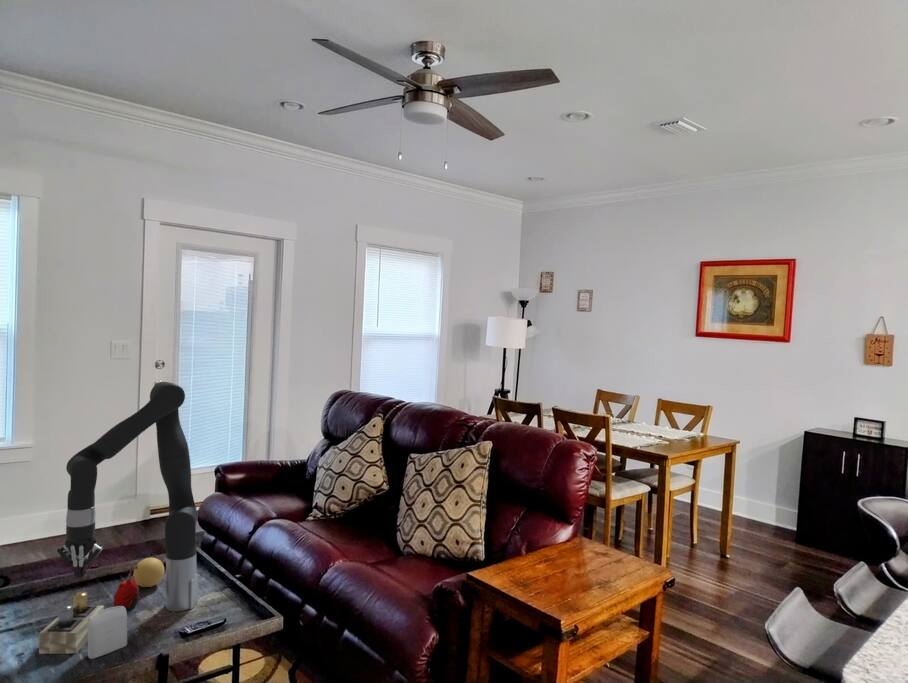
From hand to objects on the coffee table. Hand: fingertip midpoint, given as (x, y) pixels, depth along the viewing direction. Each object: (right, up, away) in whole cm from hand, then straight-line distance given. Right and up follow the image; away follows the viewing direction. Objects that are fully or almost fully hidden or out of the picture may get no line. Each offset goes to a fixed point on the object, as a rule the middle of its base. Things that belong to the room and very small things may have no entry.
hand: (80, 577), depth 183 cm
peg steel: (0, -12, -7) cm, 14 cm away
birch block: (0, -17, -3) cm, 17 cm away
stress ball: (+5, -16, +31) cm, 35 cm away
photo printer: (+14, -18, -9) cm, 24 cm away
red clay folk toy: (+5, -16, +16) cm, 24 cm away
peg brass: (0, -12, +1) cm, 12 cm away
